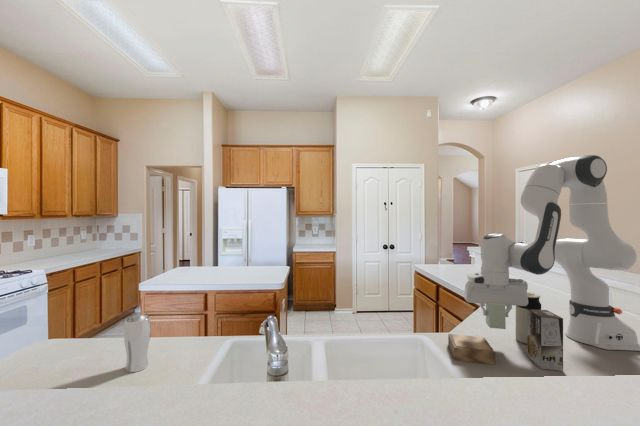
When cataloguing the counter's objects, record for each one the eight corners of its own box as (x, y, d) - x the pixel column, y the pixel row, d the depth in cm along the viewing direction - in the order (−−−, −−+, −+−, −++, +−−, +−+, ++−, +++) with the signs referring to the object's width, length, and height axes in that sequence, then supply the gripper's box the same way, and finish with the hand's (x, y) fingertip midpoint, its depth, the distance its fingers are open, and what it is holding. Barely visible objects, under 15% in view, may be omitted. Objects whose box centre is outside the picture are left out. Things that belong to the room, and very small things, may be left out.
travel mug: (520, 344, 109) (520, 295, 110) (512, 336, 117) (512, 290, 117) (545, 347, 107) (545, 297, 107) (536, 338, 115) (536, 292, 115)
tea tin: (501, 323, 109) (500, 299, 109) (506, 329, 104) (505, 303, 104) (485, 322, 111) (485, 298, 111) (489, 327, 106) (489, 302, 106)
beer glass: (131, 362, 93) (132, 314, 93) (154, 361, 94) (155, 314, 94) (118, 373, 86) (119, 322, 86) (142, 373, 87) (143, 322, 87)
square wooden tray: (484, 348, 105) (484, 336, 105) (494, 365, 94) (494, 351, 94) (448, 344, 108) (448, 333, 108) (454, 359, 97) (454, 346, 97)
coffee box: (564, 371, 90) (564, 318, 90) (540, 369, 91) (540, 317, 92) (547, 357, 99) (547, 309, 99) (526, 355, 100) (526, 308, 101)
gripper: (523, 277, 108) (524, 315, 108) (462, 275, 113) (463, 311, 113) (531, 281, 102) (531, 321, 102) (466, 278, 107) (467, 316, 107)
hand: (495, 315), depth 107 cm, fingers closed on tea tin, 5 cm apart
